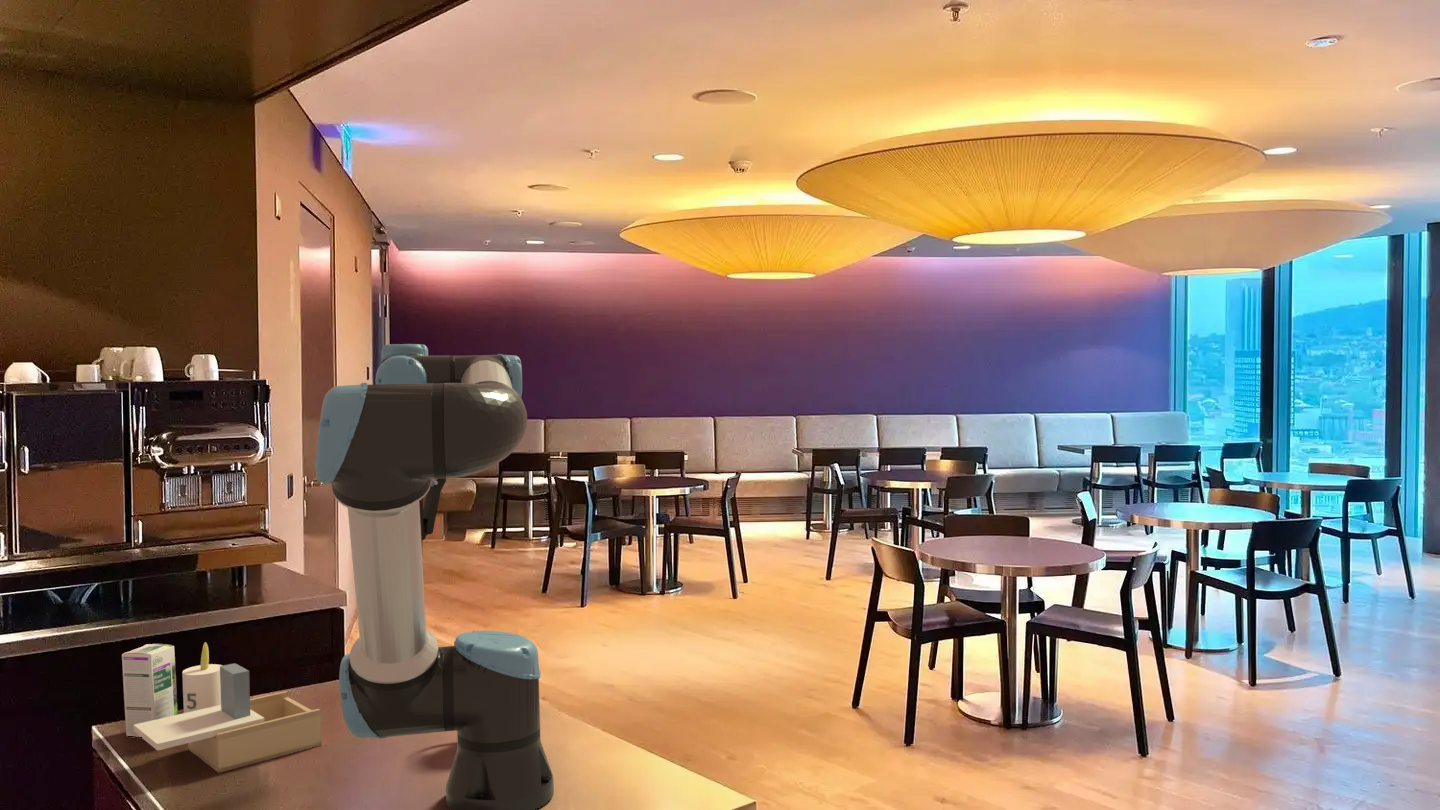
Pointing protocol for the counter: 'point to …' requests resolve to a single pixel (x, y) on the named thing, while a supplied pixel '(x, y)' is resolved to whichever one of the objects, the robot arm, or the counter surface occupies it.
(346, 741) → the counter surface
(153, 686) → the syrup box
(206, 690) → the candle
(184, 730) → the lid
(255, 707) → the box
